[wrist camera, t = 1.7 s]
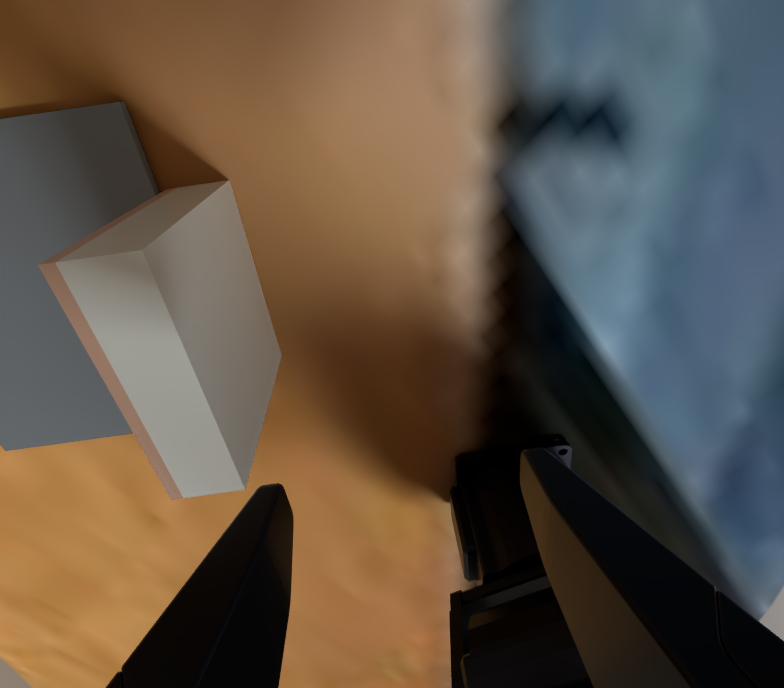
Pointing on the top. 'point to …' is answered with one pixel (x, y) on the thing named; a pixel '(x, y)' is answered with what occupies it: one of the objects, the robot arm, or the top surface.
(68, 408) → the mat
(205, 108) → the top surface
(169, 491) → the tile
